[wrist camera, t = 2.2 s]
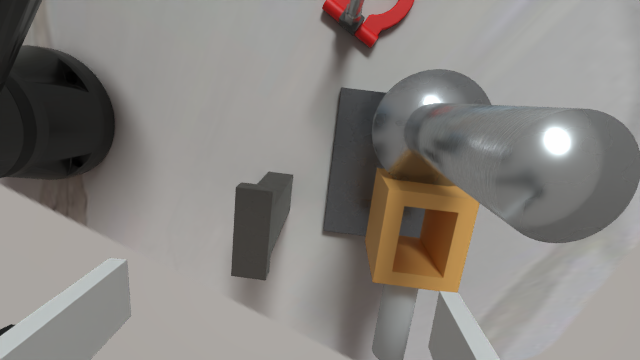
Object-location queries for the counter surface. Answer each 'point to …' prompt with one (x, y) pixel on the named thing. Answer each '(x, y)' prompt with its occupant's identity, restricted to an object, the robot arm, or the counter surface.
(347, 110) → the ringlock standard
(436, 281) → the bracket head
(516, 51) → the counter surface
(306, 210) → the counter surface
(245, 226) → the wedge
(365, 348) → the counter surface
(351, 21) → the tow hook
